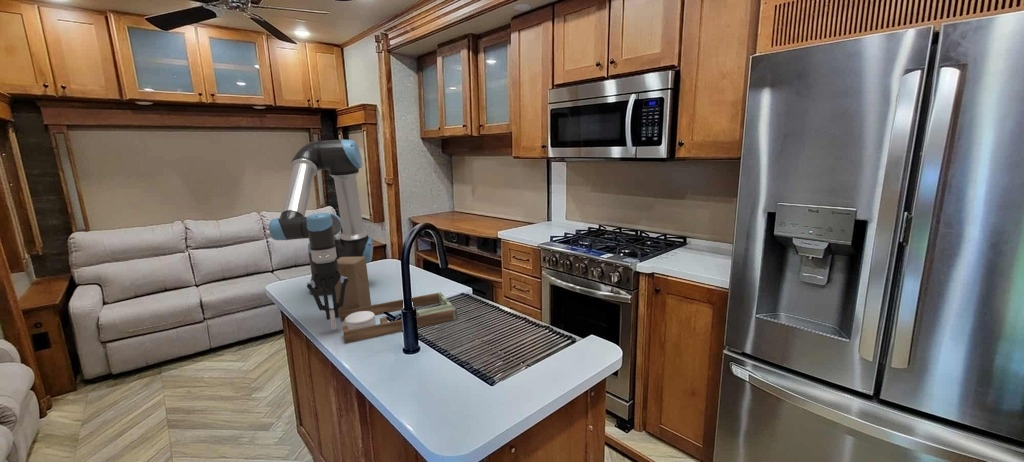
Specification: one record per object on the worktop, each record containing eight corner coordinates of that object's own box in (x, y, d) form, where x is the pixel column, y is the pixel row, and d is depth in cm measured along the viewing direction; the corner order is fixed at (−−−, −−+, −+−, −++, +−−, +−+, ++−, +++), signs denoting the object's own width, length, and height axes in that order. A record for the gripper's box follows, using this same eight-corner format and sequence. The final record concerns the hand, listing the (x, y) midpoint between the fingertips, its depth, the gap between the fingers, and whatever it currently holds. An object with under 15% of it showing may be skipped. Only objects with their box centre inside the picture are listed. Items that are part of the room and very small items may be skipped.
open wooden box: (341, 320, 153) (339, 311, 153) (441, 300, 168) (440, 292, 168) (344, 343, 135) (343, 332, 134) (457, 319, 150) (456, 309, 149)
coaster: (377, 318, 155) (376, 309, 154) (373, 329, 145) (372, 320, 144) (348, 321, 153) (347, 312, 152) (342, 333, 143) (341, 323, 143)
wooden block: (371, 305, 167) (365, 256, 163) (360, 315, 157) (353, 263, 153) (347, 305, 168) (341, 256, 164) (334, 315, 158) (327, 263, 154)
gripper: (302, 266, 134) (313, 335, 138) (346, 260, 139) (355, 327, 144) (303, 260, 140) (313, 327, 145) (345, 255, 145) (353, 319, 150)
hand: (334, 327), depth 144 cm, fingers closed
